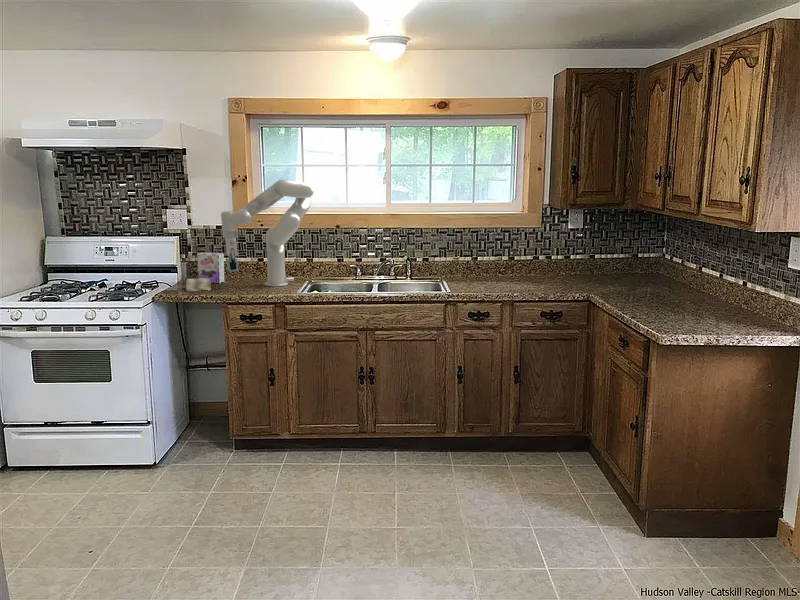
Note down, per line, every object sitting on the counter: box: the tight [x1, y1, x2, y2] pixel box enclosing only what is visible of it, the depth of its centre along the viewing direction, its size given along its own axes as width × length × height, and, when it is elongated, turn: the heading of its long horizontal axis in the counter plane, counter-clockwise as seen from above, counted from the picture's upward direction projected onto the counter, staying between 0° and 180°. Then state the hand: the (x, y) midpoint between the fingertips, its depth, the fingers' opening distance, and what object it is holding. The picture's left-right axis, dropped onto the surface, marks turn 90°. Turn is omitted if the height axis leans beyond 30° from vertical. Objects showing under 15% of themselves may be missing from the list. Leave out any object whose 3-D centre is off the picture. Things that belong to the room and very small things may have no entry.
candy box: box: [196, 252, 225, 284], centre depth 364 cm, size 14×6×16 cm, turn 73°
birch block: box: [185, 278, 212, 292], centre depth 344 cm, size 12×12×5 cm
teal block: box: [226, 257, 239, 272], centre depth 348 cm, size 5×5×6 cm
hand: (232, 268), depth 348 cm, fingers closed on teal block, 5 cm apart
